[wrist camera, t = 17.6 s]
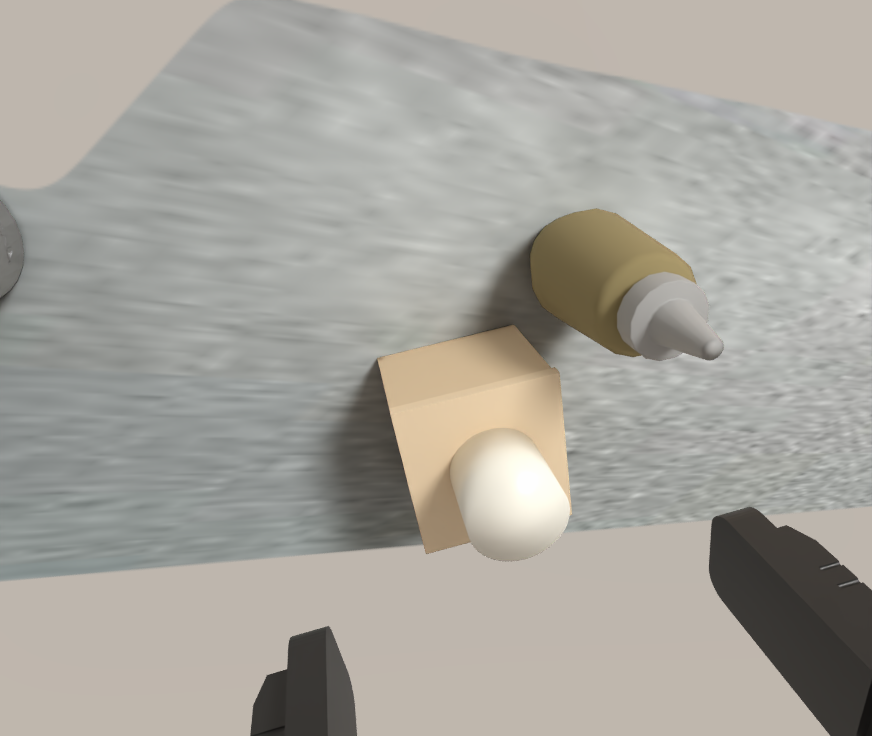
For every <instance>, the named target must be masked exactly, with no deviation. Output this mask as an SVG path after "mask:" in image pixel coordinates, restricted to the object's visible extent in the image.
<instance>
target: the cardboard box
mask: <svg viewBox="0 0 872 736" xmlns="http://www.w3.org/2000/svg"><path fill="white" fill-rule="evenodd" d="M377 359H378V363H379V368H380V372H381V376H382V380H383V384H384V389H385V393H386V397H387V401H388V406H389V408H393V407H397V406H401V405H405V404H409V403H413V402H417V401H421V400H425V399H429V398H433V397H437V396H441V395H445V394H449V393H453V392H457V391H461V390H465V389H469V388H473V387H477V386H481V385H485V384H490V383H494V382H498V381H502V380H506V379H510V378H514V377H518V376H522V375H526V374H530V373H534V372H538V371H542V370H546V369H550V368H551V367H550V366H549V365H548V364H547V363H546V361H545V360H544V359H543V358H542V357H541V356H540V354H539V353H538V352H537V351H536V350H535V349H534V347H533V346H532V345H531V344H530V343H529V342H528V340H527V339H526V338H525V337H524V336H523V335H522V333H521V332H520V331H519V330H518V329H517V328H516V326H515V325H510V326H506V327H502V328H498V329H494V330H490V331H486V332H481V333H477V334H473V335H469V336H465V337H461V338H457V339H453V340H449V341H445V342H441V343H437V344H433V345H429V346H425V347H421V348H416V349H412V350H408V351H404V352H400V353H396V354H392V355H388V356H384V357H380V358H377Z"/></svg>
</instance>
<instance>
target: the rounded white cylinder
mask: <svg viewBox="0 0 872 736" xmlns="http://www.w3.org/2000/svg"><path fill="white" fill-rule="evenodd" d="M450 480H451V484H452V487H453V490H454V493H455V496H456V499H457V502H458V505H459V509H460V512H461V515H462V518H463V521H464V524H465V527H466V530H467V533H468V536H469V539H470V541H471V543H472V545H473V546H474V548H475V549H476V550H477V551H478V552H480V553H481V554H482V555H484V556H486V557H488V558H491V559H494V560H498V561H519V560H523V559H527V558H530V557H533V556H535V555H537V554H539V553H541V552H543V551H544V550H546V549H547V548H549V547H550V546H551V545H552V544H553V543H555V541H557V539H558V538H559V537H560V536H561V535H562V533H563V531H564V530H565V528H566V526H567V523H568V520H569V515H570V505H569V501H568V498H567V496H566V494H565V493H564V491H563V489H562V488H561V486H560V484H559V483H558V481H557V479H556V478H555V476H554V474H553V473H552V471H551V469H550V468H549V466H548V464H547V463H546V461H545V459H544V458H543V456H542V454H541V453H540V451H539V449H538V448H537V446H536V444H535V443H534V442H533V440H532V439H531V438H530V437H529V436H527V435H526V434H524V433H523V432H520V431H518V430H515V429H511V428H494V429H489V430H486V431H482V432H480V433H478V434H476V435H474V436H472V437H471V438H470V439H468V440H467V441H466V442H465V443H463V444H462V445H461V447H460V448H459V449H458V450H457V452H456V453H455V455H454V457H453V459H452V462H451V465H450Z"/></svg>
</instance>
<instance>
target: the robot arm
mask: <svg viewBox="0 0 872 736" xmlns="http://www.w3.org/2000/svg"><path fill="white" fill-rule="evenodd" d="M23 259H24V248H23V242H22V236H21V234H20V231H19V229H18V226H17V224H16V221H15V219H14V218H13V216H12V215H11V213H10V212H9V210H8V209H7V207H6V205H5V204H4V203H3V202H2V201H1V200H0V298H1V297H2V296H3V295H5V294H6V293H7V292H8V291H10V290H11V288H12V287H13V285H14V284H15V283H16V281H17V280H18V278H19V275H20V273H21V270H22V267H23ZM711 527H712V528H711V543H710V559H709V573H710V578H711V581H712V583H713V586H714V588H715V590H716V592H717V594H718V595H719V597H720V598H721V599H722V601H723V602H724V603H725V605H726V606H727V607H728V609H729V610H730V611H731V612H732V613H733V615H734V616H735V617H736V619H737V620H738V621H739V622H740V624H741V625H742V626H743V627H744V629H745V630H746V631H747V632H748V634H749V635H750V636H751V637H752V639H753V640H754V641H755V642H756V644H757V645H758V646H759V647H760V648H761V650H762V651H763V652H764V653H765V655H766V656H767V657H768V658H769V660H770V661H771V662H772V663H773V665H774V666H775V667H776V668H777V670H778V671H779V672H780V673H781V675H782V676H783V677H784V678H785V680H786V681H787V682H788V683H789V685H790V686H791V687H792V688H793V690H794V691H795V692H796V693H797V694H798V696H799V697H800V698H801V700H802V701H803V702H804V703H805V705H806V706H807V707H808V708H809V710H810V711H811V712H812V713H813V715H814V716H815V717H816V718H817V720H818V721H819V722H820V723H821V725H822V726H823V727H824V728H825V730H826V731H827V732H828V733H829V734H830V736H872V590H871V589H870V588H869V587H867V586H866V585H865V584H864V583H860V582H859V580H858V578H857V577H856V576H855V575H854V574H853V573H852V572H851V571H849V570H848V569H847V568H846V567H845V566H844V565H842V566H841V565H840V563H839V561H838V560H837V559H836V558H835V557H834V556H833V555H832V554H831V553H829V552H828V551H827V550H826V549H825V548H824V547H823V546H822V545H820V544H819V543H818V542H817V541H816V540H814V539H812V538H810V537H808V536H806V535H804V534H803V533H801V532H799V531H797V530H795V529H793V528H791V527H789V526H787V525H786V526H782V527H779V528H776V527H775V526H774V525H773V524H772V523H771V522H770V521H769V520H768V519H767V518H766V517H765V516H764V515H763V514H762V513H760V512H759V511H758V510H756V509H755V508H752V507H747V508H744V509H740V510H737V511H733V512H730V513H726V514H723V515H719V516H716V517H714V518H713V520H712V526H711ZM251 736H357V730H356V716H355V703H354V696H353V690H352V685H351V681H350V677H349V674H348V671H347V669H346V666H345V664H344V661H343V659H342V656H341V653H340V651H339V648H338V646H337V643H336V641H335V638H334V636H333V633H332V631H331V629H330V627H329V626H327V627H324V628H320V629H317V630H313V631H310V632H306V633H303V634H299V635H296V636H292V637H291V638H290V640H289V647H288V667H287V670H283V671H280V672H276V673H273V674H270V675H267V677H266V679H265V681H264V683H263V686H262V687H261V690H260V692H259V694H258V697H257V698H256V701H255V703H254V705H253V715H252V725H251Z"/></svg>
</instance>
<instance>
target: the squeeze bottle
mask: <svg viewBox="0 0 872 736" xmlns="http://www.w3.org/2000/svg"><path fill="white" fill-rule="evenodd" d="M530 266H531V277H532V288H533V291H534V293H535V294H536V296H537V298H538V300H539V302H540V304H541V306H542V307H543V308H544V309H546V310H547V311H548V312H550V313H551V314H553V315H554V316H555V317H557V318H558V319H560V320H561V321H563V322H565V323H566V324H568V325H569V326H571V327H573V328H574V329H576V330H578V331H579V332H581V333H582V334H584V335H586V336H587V337H589V338H591V339H592V340H594V341H595V342H597V343H599V344H600V345H602V346H603V347H605V348H607V349H608V350H610V351H612V352H613V353H615V354H619V355H625V356H630V357H636V356H641V355H642V356H643V357H645V358H646V359H652V360H658V361H662V360H666V359H671V358H675V357H677V356H678V355H680V354H682V353H686V354H689V355H692V356H696V357H699V358H702V359H705V360H714V359H715V358H717V357H718V356H719V355H720V354H721V353H722V351H723V348H724V344H723V341H722V340H721V339H720V338H719V336H718V335H717V334H716V333H715V332H714V331H713V329H712V328H711V327H710V326H709V325H708V324H707V322H708V315H709V303H708V300H707V297H706V294H705V292H704V291H703V290H702V289H701V288H700V287H699V286H698V285H697V284H696V281H695V278H694V275H693V272H692V270H691V267H690V266H689V265H688V264H687V263H686V262H685V261H684V260H682V259H681V258H680V257H679V256H678V255H677V254H675V253H674V252H673V251H671V250H670V249H668V248H667V247H665V246H664V245H662V244H661V243H659V242H658V241H656V240H655V239H653V238H652V237H650V236H649V235H647V234H646V233H644V232H643V231H641V230H640V229H638V228H637V227H635V226H634V225H633V224H631V223H630V222H628V221H627V220H625V219H624V218H622V217H621V216H619V215H618V214H616V213H612V212H608V211H604V210H600V209H591V210H586V211H580V212H575V213H572V214H569V215H566V216H563V217H560V218H558V219H556V220H555V221H553V222H551V223H550V224H548V225H547V226H545V227H544V228H543V230H542V231H541V232H540V233H539V235H538V236H537V237H536V239H535V240H534V243H533V246H532V250H531V253H530Z"/></svg>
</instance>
